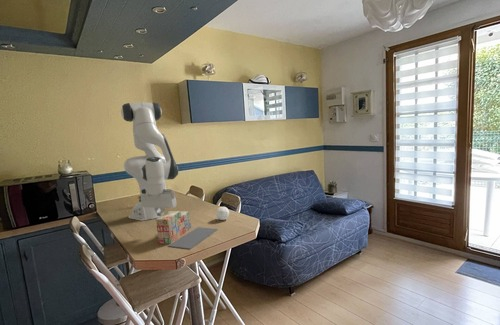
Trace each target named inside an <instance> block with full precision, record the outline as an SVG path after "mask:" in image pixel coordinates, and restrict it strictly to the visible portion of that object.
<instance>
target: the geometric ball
mask: <svg viewBox="0 0 500 325" xmlns="http://www.w3.org/2000/svg"><path fill="white" fill-rule="evenodd" d="M215 216H216V218H217V219H218V220H219V221H226V219H227V220H228V218H229V216H230V210H229V209H228V207H226V206H220V207H218V208H217V209H216V212H215Z"/></svg>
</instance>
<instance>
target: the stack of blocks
mask: <svg viewBox="0 0 500 325" xmlns="http://www.w3.org/2000/svg"><path fill="white" fill-rule="evenodd" d="M155 219H156V231H157V237H158V238H157V239H158V244H159V245H170V244H172V243H173V242H175V241H177V240H178V239H180V238H181V237H182V235H184V234H185V233H186V232H188V230H190V229H191V218H190V211H189V210H188V211H185V210H183V211H181V210H169V211H168V212H166V213H164V215H163V216H161V217H158V218H155Z"/></svg>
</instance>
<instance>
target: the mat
mask: <svg viewBox="0 0 500 325" xmlns="http://www.w3.org/2000/svg"><path fill="white" fill-rule="evenodd" d="M217 231H218V228H212V227H201V226H198V227H196V228H194V229H193V230H191V231H189V232H188V233H186V234H185V235H183V236H180V237H179V238H178V239H176V240H175V241H174V242H173V243H171V244H167V246H168V247H170V248H178V249H185V250H191V249H193V248H194V247H195V246H197V245H198V244H199V243H201V242H203V241H204V240H206V238H209V237H210V236H211V235H213V234H214V233H215V232H217Z"/></svg>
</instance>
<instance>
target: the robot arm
mask: <svg viewBox="0 0 500 325" xmlns="http://www.w3.org/2000/svg"><path fill="white" fill-rule="evenodd" d="M120 109H121V110H120V114H121V117H122V118H123V120H124V121H126V122H130V123H131V122H132V133H133V143H134V146H135V148H136V149H138V150H140V151H142V152H144V154H145V155H139V156H133V157H129V158H126V159H125V161H124V164H123V168H124V171H125V173H127V174H128V175H130V176H131V177H132V178H134V179H135V181H136V182H137V184H138V188H139V194H140V196H138V197H137V199H139V201H138V202H137V203H136V204H135V205H134V206H133V207H132V209H131V214H129V215H128V218H129V219H130V220H137V221H141V222H142V221H147V220H153V219H154V220H155V219H157V218H159V217H161V216H163V215H164V214H165V212H164V211H165V209H174V208H176V207H177V199H176V196H175V195H176V193H175V191H173V189H167V184H166V183H167V182H166V180H174V179H175V178H176V177H177V176H178V175H179V167H178V165H177V163H176V161H175V158H174V155H173V153H172V151H171V147H170V145H169V143H168V140H167V137H166V136H165V135H164V133H162V132H160V130H159V129H158V127H157V122H156V121H158V120H160V119H161V117H162V114H163V113H162V112H163V110H162V107H161V105H160V104H159V103H157V102H143V101H141V102H131V103H129V102H127V103H124V104H123V105H122V106H121V108H120ZM156 146H157V147H159V148H160V149H161V152H159V151H158V149H157V148H156Z"/></svg>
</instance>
